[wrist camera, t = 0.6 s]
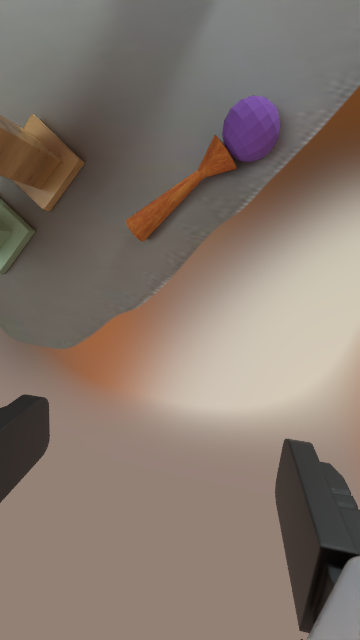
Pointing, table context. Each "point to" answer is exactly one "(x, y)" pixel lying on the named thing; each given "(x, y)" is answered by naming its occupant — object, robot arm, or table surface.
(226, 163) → the kendama
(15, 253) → the green pillar
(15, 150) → the tall stand
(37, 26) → the table surface
